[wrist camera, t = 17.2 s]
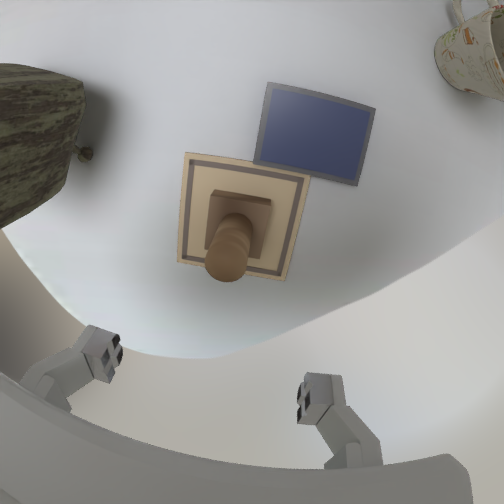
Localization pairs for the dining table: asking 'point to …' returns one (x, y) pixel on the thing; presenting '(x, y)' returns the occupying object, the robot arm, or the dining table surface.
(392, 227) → the dining table surface
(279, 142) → the ink pad
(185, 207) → the card
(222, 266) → the stamp
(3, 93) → the tabletop clock
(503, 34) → the mug
